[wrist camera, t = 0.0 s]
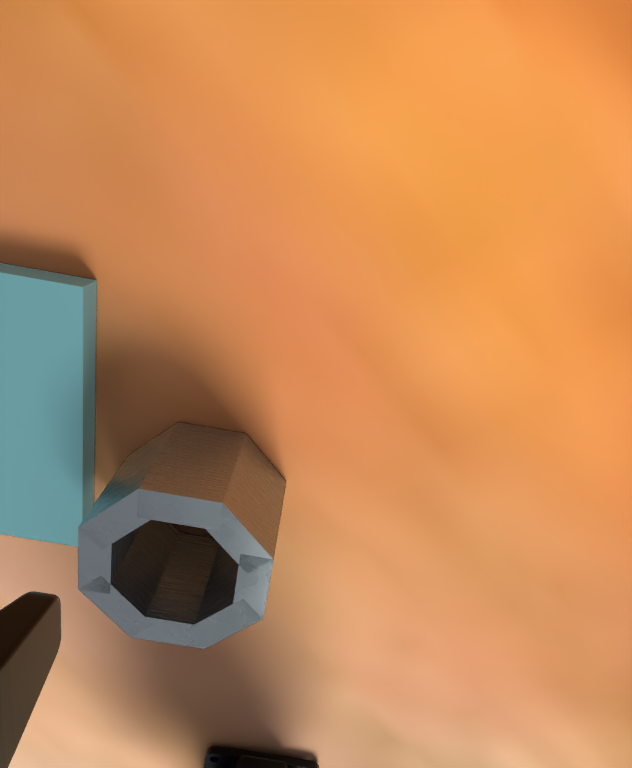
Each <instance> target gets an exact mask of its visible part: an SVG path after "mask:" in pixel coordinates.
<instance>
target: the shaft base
mask: <svg viewBox="0 0 632 768" xmlns="http://www.w3.org/2000/svg"><path fill="white" fill-rule="evenodd" d="M96 300H97V280H94V279H88V278H82V277H77V276H71V275H66V274H60V273H55V272H49V271H43V270H38V269H32V268H27V267H21V266H15V265H10V264H4V263H0V534H3V535H10V536H16V537H22V538H28V539H34V540H40V541H46V542H52V543H58V544H64V545H70V546H77V547H78V527H79V525H80V524H81V522H82V521H83V520H84V518H85V517H86V515H87V514H88V512H89V511H90V510H91V508H92V507H93V505H94V457H95V379H96Z"/></svg>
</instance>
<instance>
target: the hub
mask: <svg viewBox="0 0 632 768" xmlns="http://www.w3.org/2000/svg"><path fill="white" fill-rule="evenodd" d="M285 487H286V481H285V479H284V478H283V477H282V476H281V475H280V474H279V472H278V471H277V470H276V469H275V468H274V466H273V465H272V464H271V463H270V462H269V460H268V459H267V458H266V457H265V456H264V454H263V453H262V452H261V451H260V450H259V448H258V447H257V446H256V445H255V444H254V442H253V441H252V440H251V439H250V438H249V436H248V435H247V434H246V433H241V432H235V431H229V430H223V429H217V428H211V427H206V426H200V425H194V424H188V423H182V422H178V423H176V424H175V425H173V426H172V427H170V428H169V429H167V430H166V431H164V432H162V433H161V434H159V435H158V436H156V437H155V438H153V439H152V440H150V441H149V442H147V443H146V444H144V445H143V446H141V447H140V448H138V449H137V450H135V451H134V452H132V453H131V454H129V455H128V457H127V458H126V460H125V461H124V462H123V464H122V465H121V467H120V468H119V470H118V471H117V472H116V474H115V475H114V477H113V478H112V480H111V481H110V482H109V484H108V485H107V487H106V488H105V490H104V491H103V492H102V494H101V495H100V497H99V498H98V500H97V501H96V502H95V504H94V505H93V507H92V508H91V510H90V511H89V512H88V514H87V515H86V517H85V518H84V520H83V521H82V522H81V524H80V525H79V527H78V589H79V590H80V591H81V592H82V593H83V594H84V595H85V596H86V597H87V598H88V599H90V600H91V601H92V602H93V603H94V604H95V605H96V606H97V607H98V608H99V609H100V610H101V611H103V612H104V613H105V614H106V615H107V616H108V617H109V618H110V619H111V620H112V621H113V622H115V623H116V624H117V625H118V626H119V627H120V628H121V629H122V630H123V631H124V632H125V633H127V634H128V635H129V636H130V637H132V638H138V639H144V640H150V641H157V642H163V643H169V644H175V645H182V646H188V647H194V648H200V649H205V648H207V647H209V646H211V645H213V644H215V643H217V642H219V641H221V640H223V639H225V638H227V637H229V636H231V635H233V634H235V633H237V632H239V631H240V630H242V629H244V628H246V627H248V626H250V625H252V624H254V623H256V622H258V621H260V620H262V619H263V616H264V610H265V604H266V599H267V593H268V588H269V582H270V577H271V571H272V566H273V560H274V554H275V548H276V542H277V536H278V529H279V523H280V517H281V511H282V505H283V499H284V493H285ZM171 523H174V524H180V525H186V526H192V527H198V528H204V529H206V530H207V531H208V532H209V533H210V534H211V535H212V537H213V538H209V537H203V536H197V535H191V534H185V533H180V532H179V531H178V530H177V529H176V528H175V527H174V526H173V525H172V524H171Z"/></svg>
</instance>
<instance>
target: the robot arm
mask: <svg viewBox="0 0 632 768" xmlns="http://www.w3.org/2000/svg"><path fill="white" fill-rule="evenodd" d="M60 641H61V604H60V599H59V597H58V596H56V595H53V594H47V593H41V592H28V593H26V594H24V595H22V596H21V597H19V598H18V599H16V600H15V601H13V602H12V603H10V604H9V605H7V606H6V607H4V608H3V609H1V610H0V768H8V766H9V764H10V762H11V759H12V757H13V755H14V753H15V751H16V748H17V746H18V744H19V741H20V739H21V737H22V734H23V732H24V730H25V727H26V725H27V723H28V720H29V718H30V716H31V713H32V711H33V709H34V706H35V704H36V702H37V699H38V697H39V695H40V692H41V690H42V688H43V685H44V683H45V681H46V678H47V676H48V674H49V671H50V669H51V667H52V664H53V662H54V660H55V657H56V655H57V652H58V649H59V646H60ZM204 768H319V765H318V764H317V763H315V762H313V761H307V760H300V759H294V758H287V757H281V756H274V755H268V754H261V753H255V752H248V751H242V750H235V749H229V748H223V747H210V748H209V749H208V750H207V754H206V758H205V765H204Z"/></svg>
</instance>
